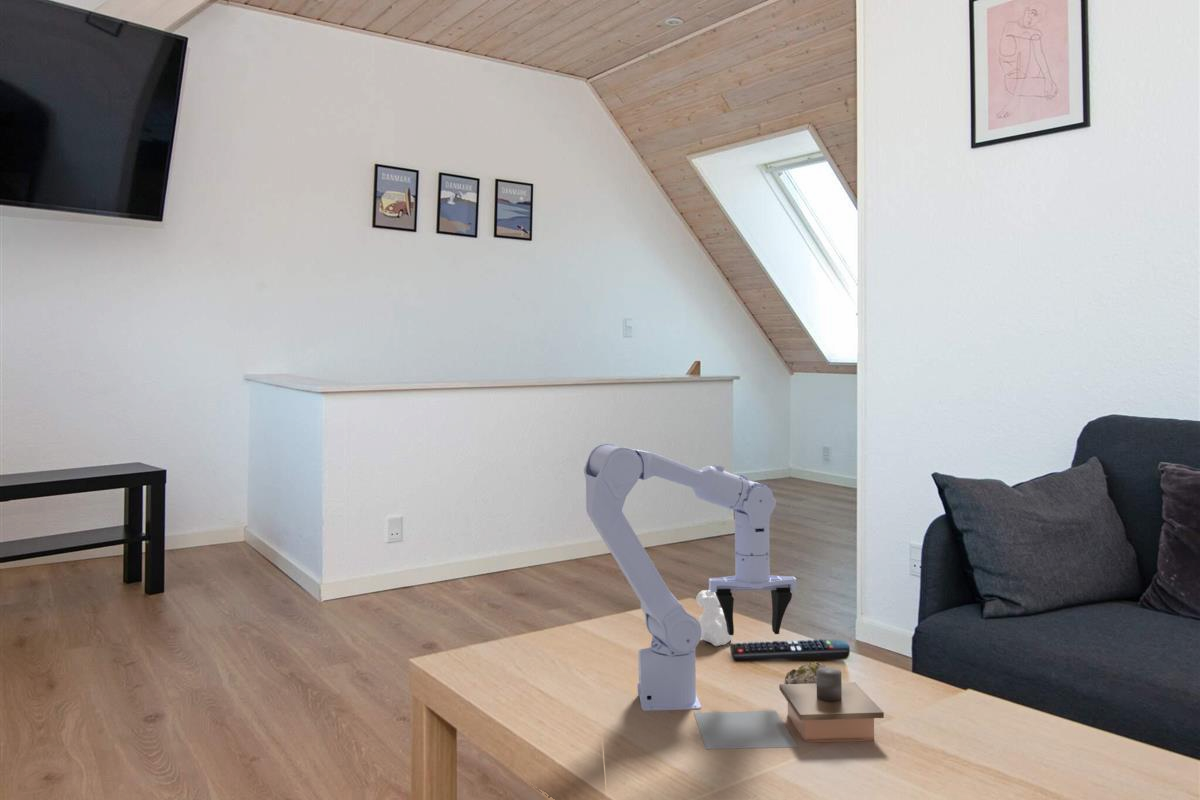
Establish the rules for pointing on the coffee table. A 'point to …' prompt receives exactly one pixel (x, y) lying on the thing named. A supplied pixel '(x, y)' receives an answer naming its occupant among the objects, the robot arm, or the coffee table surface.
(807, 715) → the walnut lid
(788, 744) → the rubber mat
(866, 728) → the peach square box
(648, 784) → the coffee table surface
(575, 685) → the coffee table surface
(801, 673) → the mineral rock
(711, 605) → the bust
